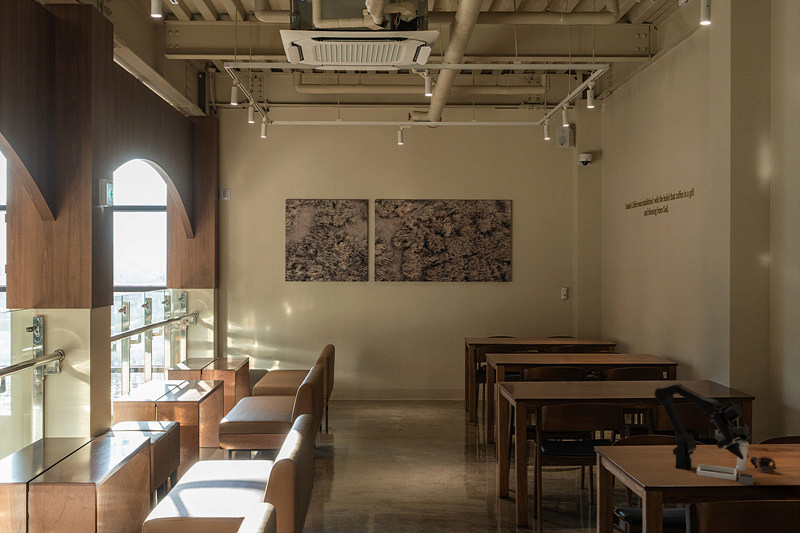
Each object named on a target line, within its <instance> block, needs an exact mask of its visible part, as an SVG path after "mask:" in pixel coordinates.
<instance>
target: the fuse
mask: <svg viewBox="0 0 800 533" xmlns="http://www.w3.org/2000/svg"><path fill="white" fill-rule="evenodd" d="M749 444H750V443H749V442H748V441H739V450H740V452H741V454H742V455H743V458H744V459H740V458H739V457H737V456H736V457H737V458H736V465H735V468H736V469H737V471H740V472H745V471H746V469H747V468H746V466H747V459H748V458H747V453H748V451H749Z"/></svg>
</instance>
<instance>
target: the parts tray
mask: <svg viewBox="0 0 800 533" xmlns="http://www.w3.org/2000/svg"><path fill="white" fill-rule="evenodd" d="M707 470H708V471H707ZM737 472H738V470H737V469H736V467H728V466H718V465H711V464H703V463H698V466H697V468H696V475H697V476H701V477H707V478H708V477H709V478H715V479H723V480H730V481H737Z"/></svg>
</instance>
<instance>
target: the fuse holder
mask: <svg viewBox="0 0 800 533" xmlns="http://www.w3.org/2000/svg"><path fill="white" fill-rule="evenodd" d="M738 484H742V485H749V486H754V474H752V473H751V474H750V473H749V474H748V473H743V472H739V473H738Z"/></svg>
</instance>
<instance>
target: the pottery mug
mask: <svg viewBox="0 0 800 533" xmlns="http://www.w3.org/2000/svg"><path fill="white" fill-rule="evenodd" d="M749 460H750V461H749V462H750V463H751V465H753V468H754V469H757V472H759V473H762V474H763V473H772V472H774V471H775V470H777V466H776V465H777V464H776V462H775V460H774V459H773V458H771V457H769V456H759V457H756V456H751V458H750V459H749ZM771 463H772V465H770V464H771Z"/></svg>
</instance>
